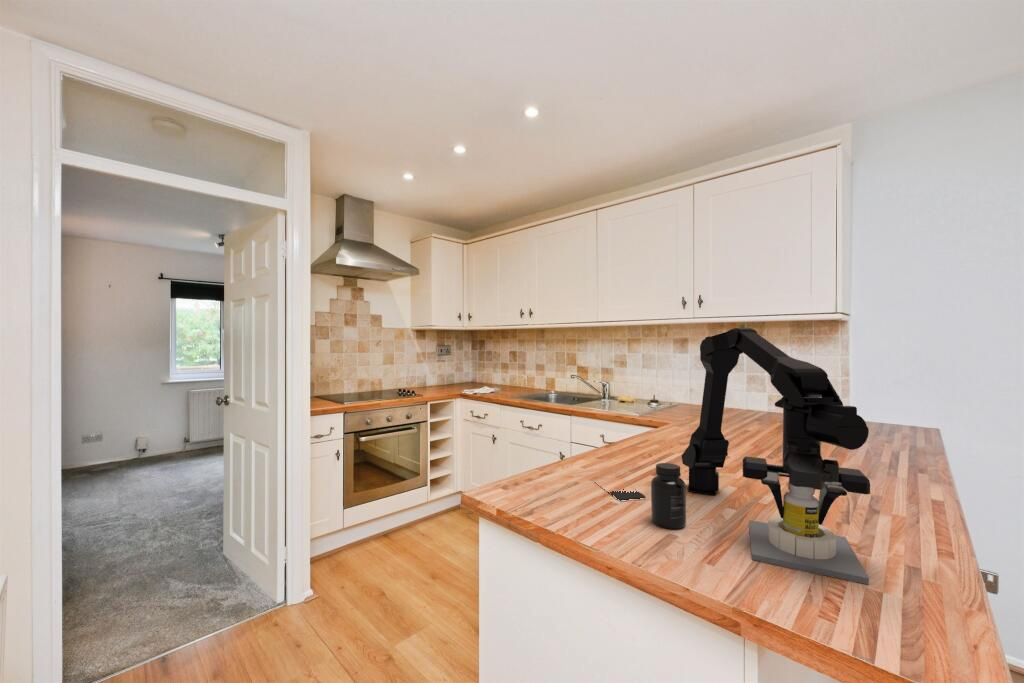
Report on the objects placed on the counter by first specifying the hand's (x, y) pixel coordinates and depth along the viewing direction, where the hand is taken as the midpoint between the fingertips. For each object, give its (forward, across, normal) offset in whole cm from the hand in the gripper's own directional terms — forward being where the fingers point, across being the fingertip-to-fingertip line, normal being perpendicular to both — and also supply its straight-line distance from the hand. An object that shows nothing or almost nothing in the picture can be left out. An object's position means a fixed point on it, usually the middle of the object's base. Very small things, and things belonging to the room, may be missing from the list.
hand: (800, 520), depth 78 cm
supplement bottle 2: (+3, 0, 0) cm, 3 cm away
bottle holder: (+5, 0, 0) cm, 5 cm away
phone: (+6, -37, +16) cm, 41 cm away
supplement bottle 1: (+6, -23, +1) cm, 24 cm away
